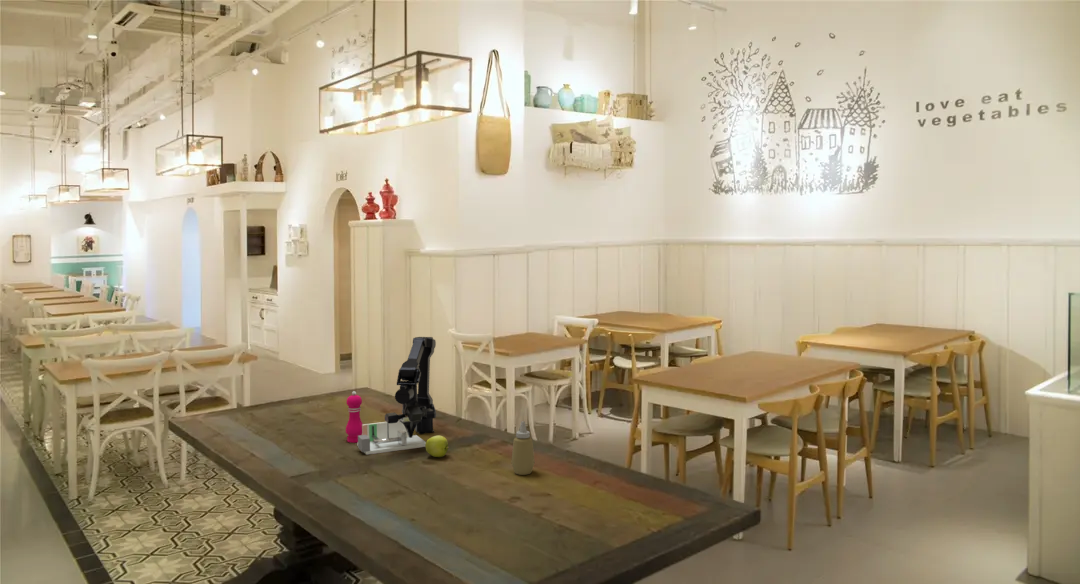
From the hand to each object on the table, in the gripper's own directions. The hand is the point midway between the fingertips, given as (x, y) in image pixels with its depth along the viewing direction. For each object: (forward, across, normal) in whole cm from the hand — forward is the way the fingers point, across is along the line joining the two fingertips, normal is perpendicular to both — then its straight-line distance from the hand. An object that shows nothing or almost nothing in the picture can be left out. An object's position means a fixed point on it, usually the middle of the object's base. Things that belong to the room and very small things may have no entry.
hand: (410, 437), depth 300 cm
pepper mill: (+4, -17, +18) cm, 25 cm away
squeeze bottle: (+4, +25, -49) cm, 55 cm away
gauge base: (+3, -7, +4) cm, 9 cm away
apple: (+4, +5, -18) cm, 19 cm away
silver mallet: (+2, -8, +3) cm, 9 cm away
